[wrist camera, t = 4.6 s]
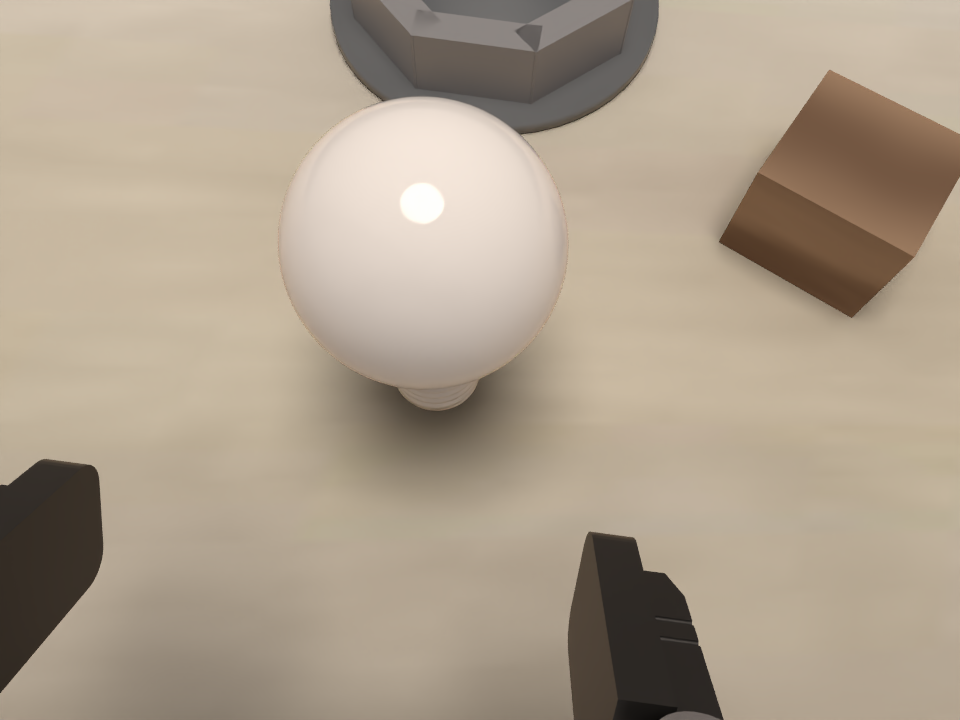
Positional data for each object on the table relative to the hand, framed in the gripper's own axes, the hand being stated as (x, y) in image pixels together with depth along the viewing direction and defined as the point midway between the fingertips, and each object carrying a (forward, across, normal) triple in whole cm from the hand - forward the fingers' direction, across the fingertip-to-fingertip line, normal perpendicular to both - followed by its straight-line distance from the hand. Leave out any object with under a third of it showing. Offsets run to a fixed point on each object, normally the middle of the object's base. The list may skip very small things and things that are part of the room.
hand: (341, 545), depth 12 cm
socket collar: (+23, 0, +10) cm, 25 cm away
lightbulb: (+12, +1, -2) cm, 12 cm away
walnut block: (+17, +13, +4) cm, 21 cm away
